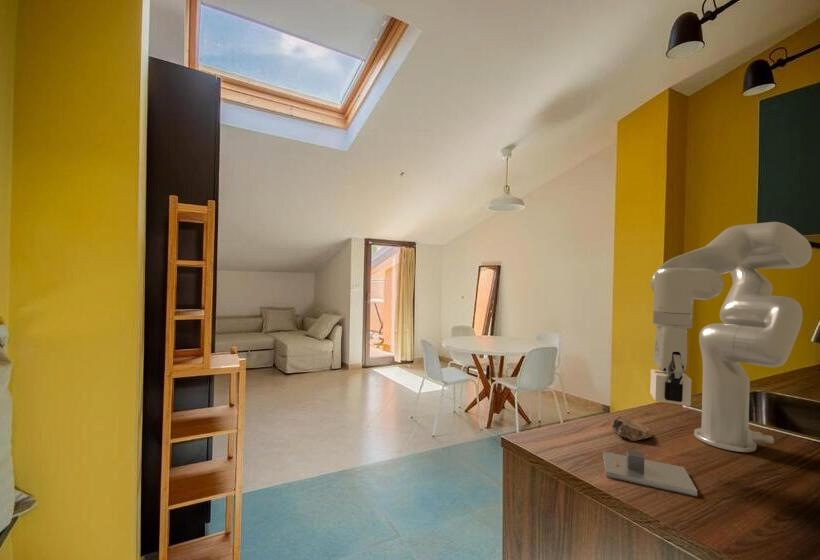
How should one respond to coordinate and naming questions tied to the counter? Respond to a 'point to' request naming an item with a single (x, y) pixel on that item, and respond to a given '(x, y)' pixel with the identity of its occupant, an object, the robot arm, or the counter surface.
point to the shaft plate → (648, 472)
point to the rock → (631, 429)
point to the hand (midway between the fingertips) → (669, 395)
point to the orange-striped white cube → (659, 387)
